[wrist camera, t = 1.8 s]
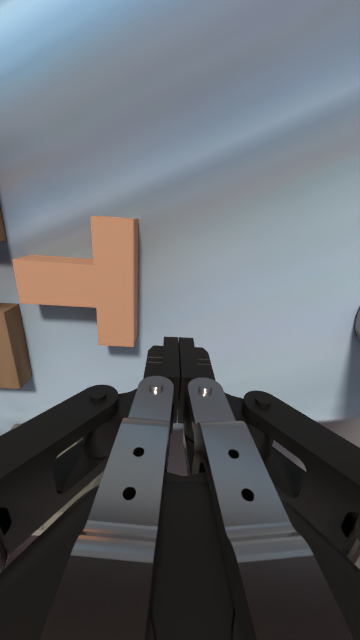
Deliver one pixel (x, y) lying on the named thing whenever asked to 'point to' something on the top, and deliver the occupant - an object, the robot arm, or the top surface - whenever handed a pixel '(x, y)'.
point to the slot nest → (12, 342)
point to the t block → (91, 280)
